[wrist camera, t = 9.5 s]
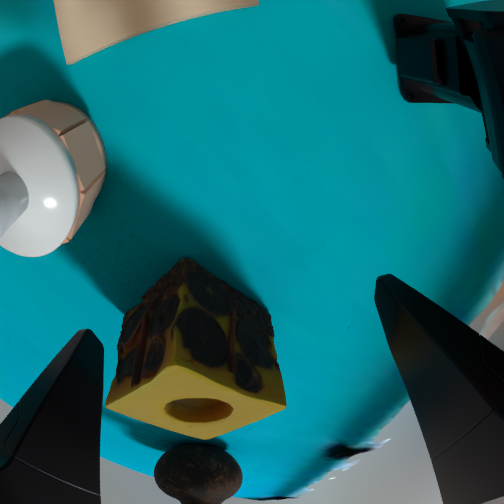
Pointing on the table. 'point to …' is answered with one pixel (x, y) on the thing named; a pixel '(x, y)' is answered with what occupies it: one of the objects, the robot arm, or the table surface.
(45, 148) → the lid
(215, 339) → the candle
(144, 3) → the mat
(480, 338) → the robot arm
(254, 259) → the table surface
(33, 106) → the bowl
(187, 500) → the dark brown vase
